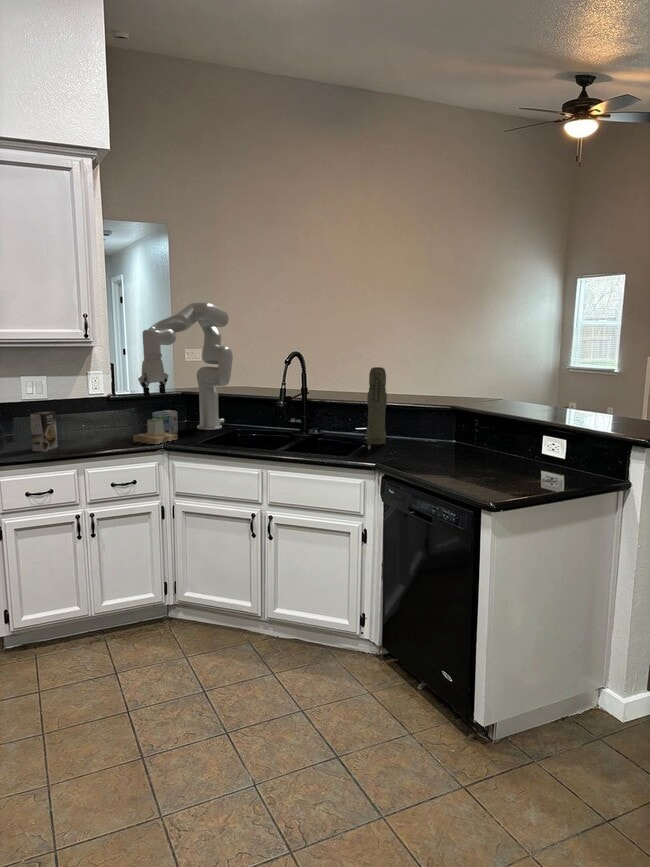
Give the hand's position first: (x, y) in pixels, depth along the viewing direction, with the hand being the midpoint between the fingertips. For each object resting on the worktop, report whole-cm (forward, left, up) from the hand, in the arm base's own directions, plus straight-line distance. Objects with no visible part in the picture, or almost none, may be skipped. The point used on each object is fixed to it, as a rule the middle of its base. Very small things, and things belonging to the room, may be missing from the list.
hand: (154, 394), depth 293 cm
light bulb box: (-17, -11, -22) cm, 30 cm away
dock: (0, 0, -22) cm, 22 cm away
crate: (0, 0, -19) cm, 19 cm away
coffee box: (+39, -26, -22) cm, 52 cm away
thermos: (-53, +87, -22) cm, 104 cm away
